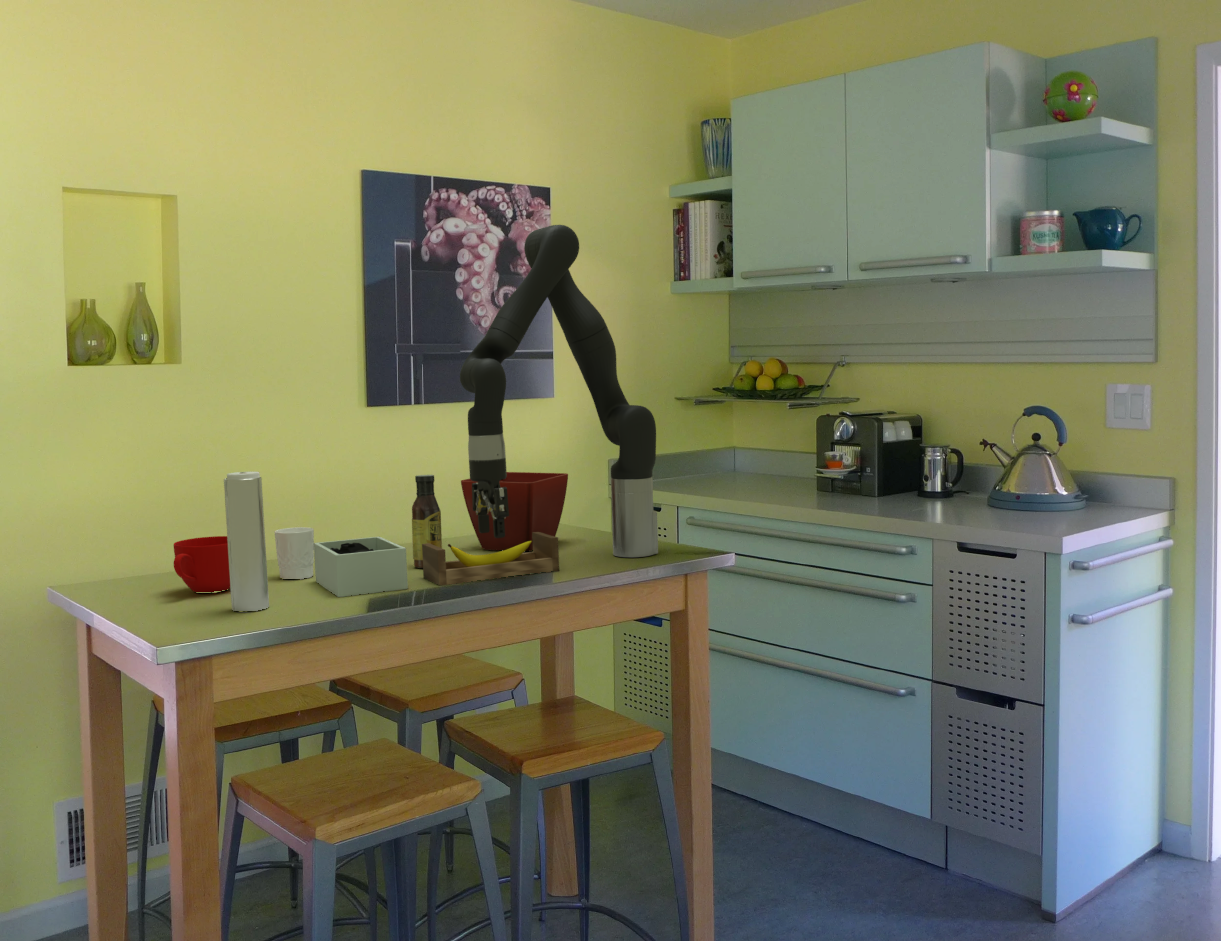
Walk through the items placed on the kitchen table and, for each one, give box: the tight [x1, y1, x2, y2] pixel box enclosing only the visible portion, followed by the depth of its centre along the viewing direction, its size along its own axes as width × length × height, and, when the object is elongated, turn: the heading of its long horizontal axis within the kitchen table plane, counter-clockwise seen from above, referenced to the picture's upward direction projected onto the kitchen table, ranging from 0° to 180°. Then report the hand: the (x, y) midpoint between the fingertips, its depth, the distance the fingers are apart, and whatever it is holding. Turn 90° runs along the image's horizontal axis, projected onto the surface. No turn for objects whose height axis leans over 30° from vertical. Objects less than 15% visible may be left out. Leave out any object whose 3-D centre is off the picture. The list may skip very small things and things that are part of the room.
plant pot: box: [460, 471, 569, 552], centre depth 265 cm, size 19×19×17 cm
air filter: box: [223, 471, 270, 612], centre depth 204 cm, size 6×6×25 cm
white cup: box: [274, 526, 315, 580], centre depth 235 cm, size 8×8×10 cm
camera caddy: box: [314, 536, 409, 598], centre depth 224 cm, size 14×19×8 cm
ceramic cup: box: [173, 535, 231, 592], centre depth 221 cm, size 13×17×10 cm
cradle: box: [422, 532, 560, 586], centre depth 232 cm, size 26×10×7 cm, turn 117°
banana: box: [447, 541, 532, 567], centre depth 232 cm, size 3×19×6 cm, turn 122°
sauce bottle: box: [411, 474, 443, 569], centre depth 242 cm, size 7×6×20 cm
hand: (491, 535), depth 231 cm, fingers open, 8 cm apart
